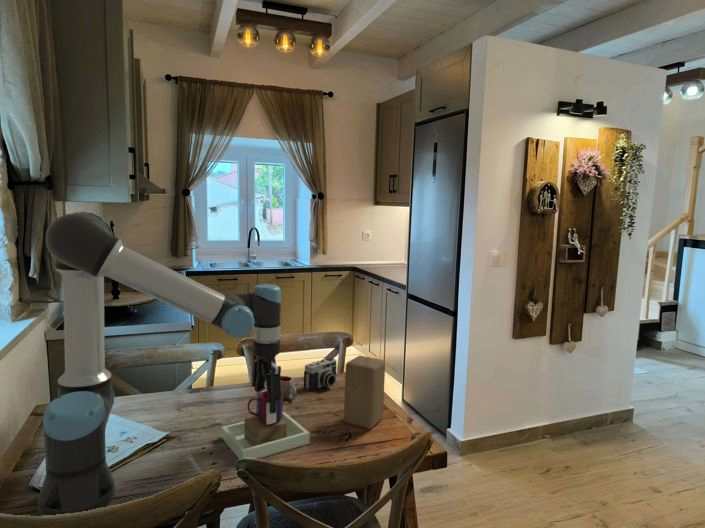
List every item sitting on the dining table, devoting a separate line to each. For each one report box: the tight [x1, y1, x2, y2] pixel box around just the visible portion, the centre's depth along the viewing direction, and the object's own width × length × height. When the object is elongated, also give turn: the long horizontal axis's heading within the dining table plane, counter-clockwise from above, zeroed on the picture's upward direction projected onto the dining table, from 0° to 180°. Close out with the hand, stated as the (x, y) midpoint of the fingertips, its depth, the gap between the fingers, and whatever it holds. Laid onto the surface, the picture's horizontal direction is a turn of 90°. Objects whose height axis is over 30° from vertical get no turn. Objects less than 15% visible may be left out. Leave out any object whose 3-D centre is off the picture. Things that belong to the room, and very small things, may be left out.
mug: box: [280, 375, 298, 402], centre depth 167 cm, size 12×7×7 cm, turn 31°
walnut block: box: [244, 415, 287, 447], centre depth 135 cm, size 9×9×6 cm
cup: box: [247, 390, 284, 422], centre depth 135 cm, size 7×10×7 cm
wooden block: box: [343, 355, 386, 430], centre depth 151 cm, size 10×10×20 cm
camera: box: [303, 357, 337, 393], centre depth 179 cm, size 14×9×10 cm, turn 130°
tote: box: [221, 411, 311, 460], centre depth 135 cm, size 20×16×4 cm
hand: (265, 417), depth 134 cm, fingers closed on cup, 7 cm apart
